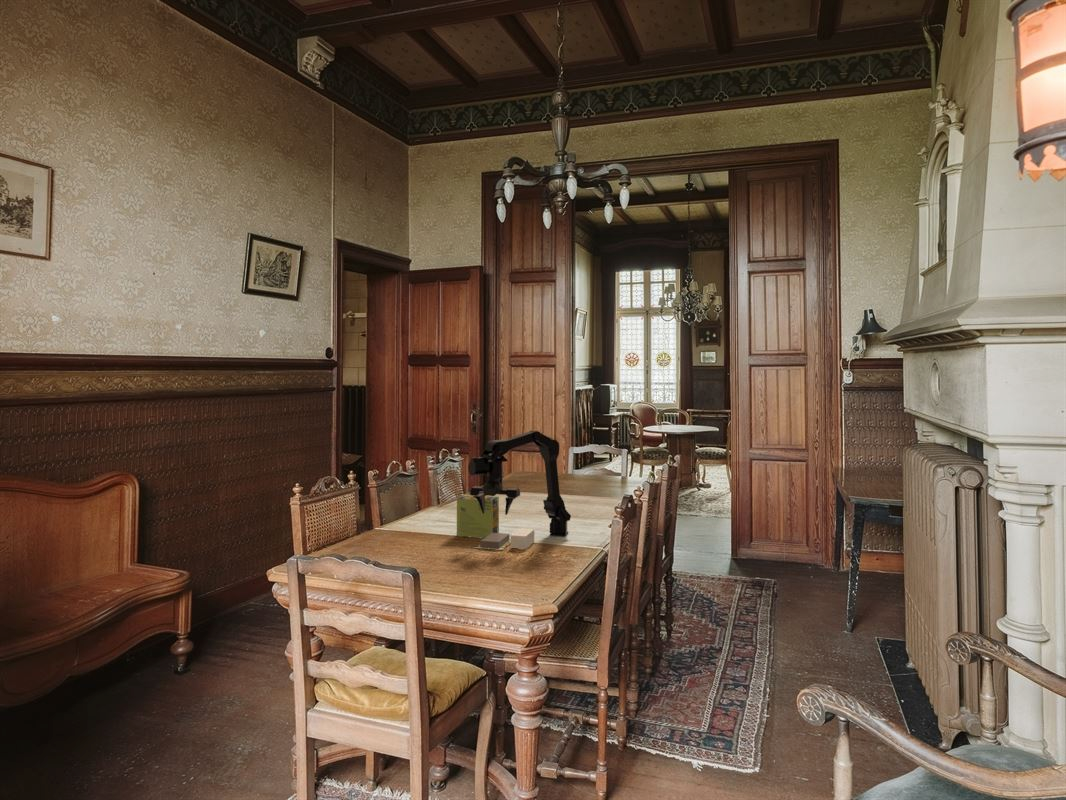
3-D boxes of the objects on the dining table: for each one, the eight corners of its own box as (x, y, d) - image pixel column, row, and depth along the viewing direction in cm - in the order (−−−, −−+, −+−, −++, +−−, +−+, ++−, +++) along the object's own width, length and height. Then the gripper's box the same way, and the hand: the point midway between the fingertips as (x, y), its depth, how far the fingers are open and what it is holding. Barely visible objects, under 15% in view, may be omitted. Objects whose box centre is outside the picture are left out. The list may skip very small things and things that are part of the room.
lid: (509, 540, 263) (509, 533, 263) (498, 548, 250) (498, 541, 250) (491, 538, 265) (491, 532, 265) (480, 547, 252) (480, 540, 252)
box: (534, 542, 262) (534, 529, 261) (525, 549, 250) (525, 536, 250) (519, 541, 263) (519, 528, 263) (510, 548, 252) (510, 535, 251)
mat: (514, 540, 264) (514, 539, 264) (502, 550, 248) (502, 549, 248) (488, 538, 267) (488, 537, 267) (474, 548, 251) (474, 547, 251)
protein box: (493, 538, 267) (493, 499, 267) (456, 536, 270) (456, 498, 270) (499, 532, 278) (499, 495, 277) (464, 530, 281) (463, 494, 280)
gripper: (464, 475, 251) (464, 516, 252) (512, 477, 246) (511, 519, 247) (475, 471, 262) (474, 511, 262) (520, 473, 257) (520, 513, 257)
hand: (494, 514), depth 257 cm, fingers open, 9 cm apart
